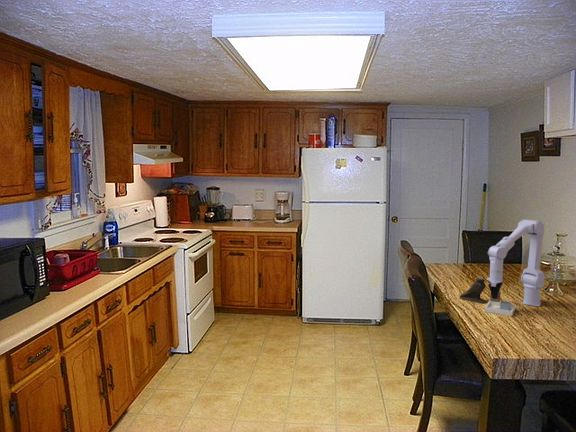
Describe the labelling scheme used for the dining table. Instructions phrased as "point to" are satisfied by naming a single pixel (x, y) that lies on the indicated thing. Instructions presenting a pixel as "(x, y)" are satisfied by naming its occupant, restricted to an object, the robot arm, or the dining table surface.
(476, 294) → the sculpture
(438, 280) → the dining table surface
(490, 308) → the dish
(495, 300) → the walnut block
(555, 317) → the dining table surface
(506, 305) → the gray block
